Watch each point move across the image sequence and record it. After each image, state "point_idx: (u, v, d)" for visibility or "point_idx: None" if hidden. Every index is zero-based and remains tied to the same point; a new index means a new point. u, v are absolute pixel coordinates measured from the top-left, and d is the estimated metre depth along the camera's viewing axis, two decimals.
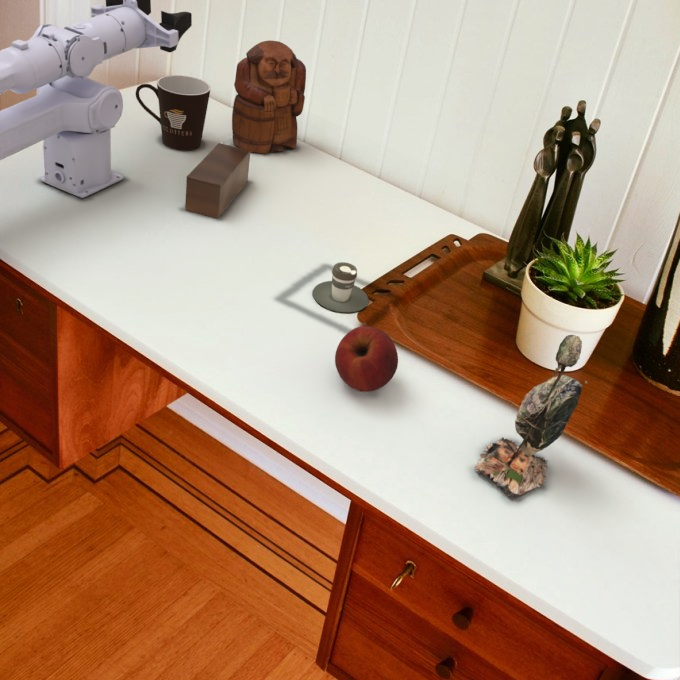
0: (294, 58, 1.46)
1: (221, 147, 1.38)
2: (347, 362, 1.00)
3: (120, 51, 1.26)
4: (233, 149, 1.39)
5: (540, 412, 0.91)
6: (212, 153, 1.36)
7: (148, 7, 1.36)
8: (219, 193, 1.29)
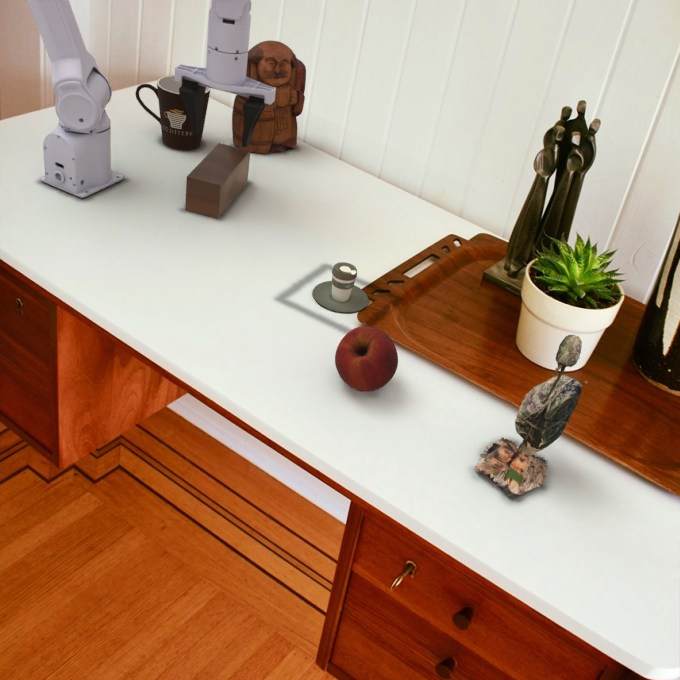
0: (294, 58, 1.46)
1: (221, 147, 1.38)
2: (347, 362, 1.00)
3: (216, 45, 1.21)
4: (233, 149, 1.39)
5: (540, 412, 0.91)
6: (212, 153, 1.36)
7: (199, 129, 1.31)
8: (219, 193, 1.29)
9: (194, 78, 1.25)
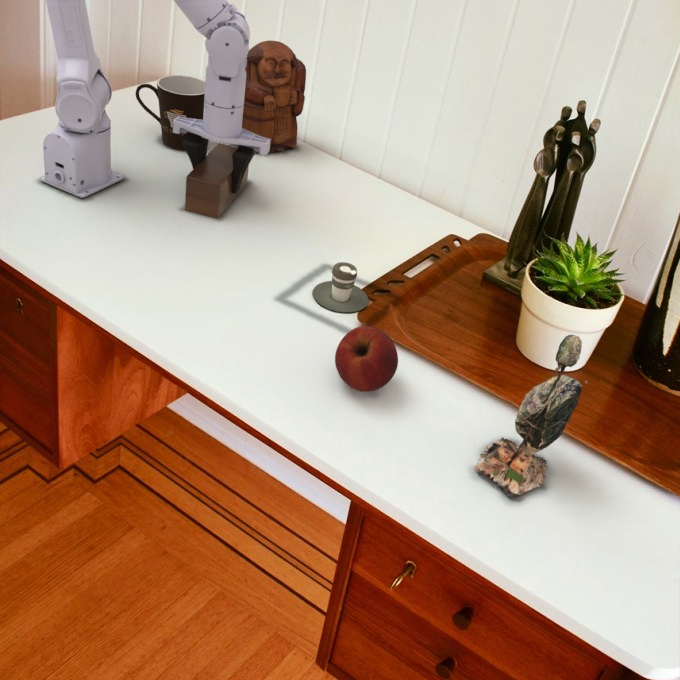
0: (294, 58, 1.46)
1: (221, 147, 1.38)
2: (347, 362, 1.00)
3: (212, 100, 1.25)
4: (233, 149, 1.39)
5: (540, 412, 0.91)
6: (212, 153, 1.36)
7: None
8: (219, 193, 1.29)
9: (192, 130, 1.30)
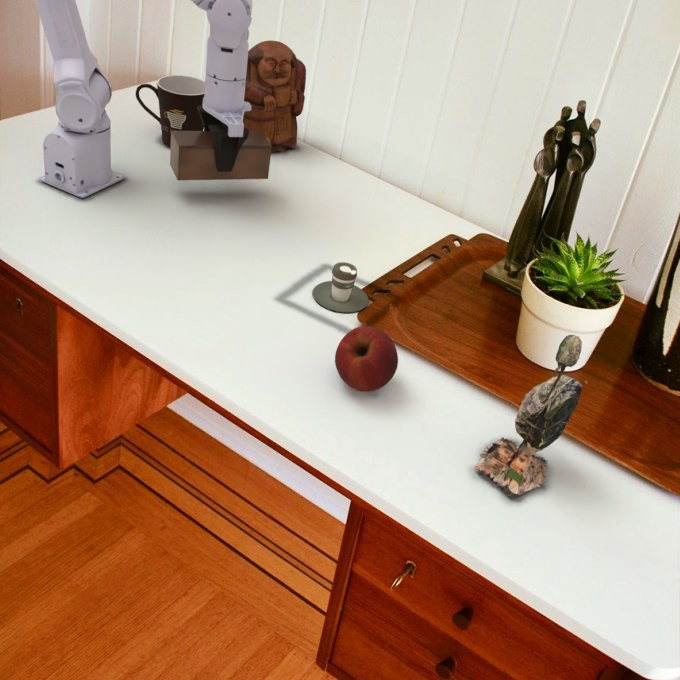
0: (294, 58, 1.46)
1: (254, 133, 1.35)
2: (347, 362, 1.00)
3: (214, 73, 1.23)
4: (259, 138, 1.34)
5: (540, 412, 0.91)
6: None
7: None
8: (179, 154, 1.28)
9: None
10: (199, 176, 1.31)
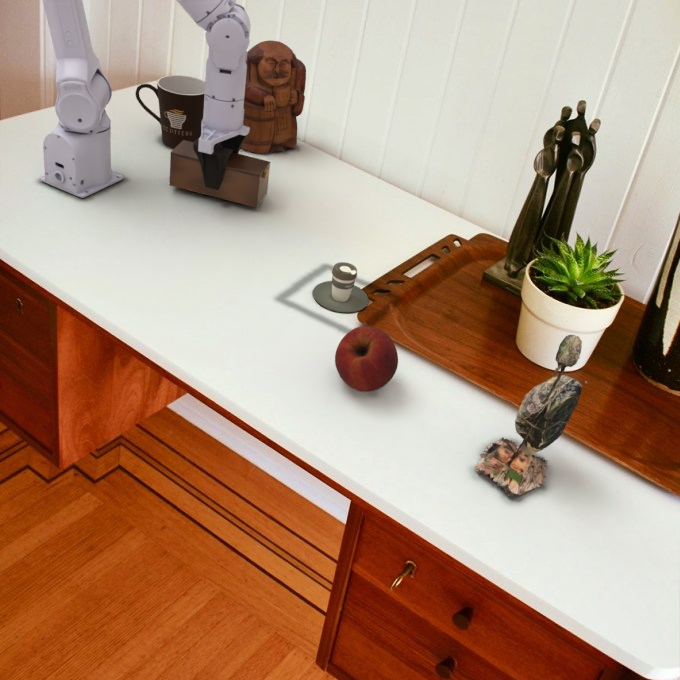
0: (294, 58, 1.46)
1: (259, 161, 1.34)
2: (347, 362, 1.00)
3: (213, 93, 1.25)
4: (257, 166, 1.33)
5: (540, 412, 0.91)
6: (241, 155, 1.35)
7: None
8: (171, 160, 1.32)
9: None
10: (189, 187, 1.34)
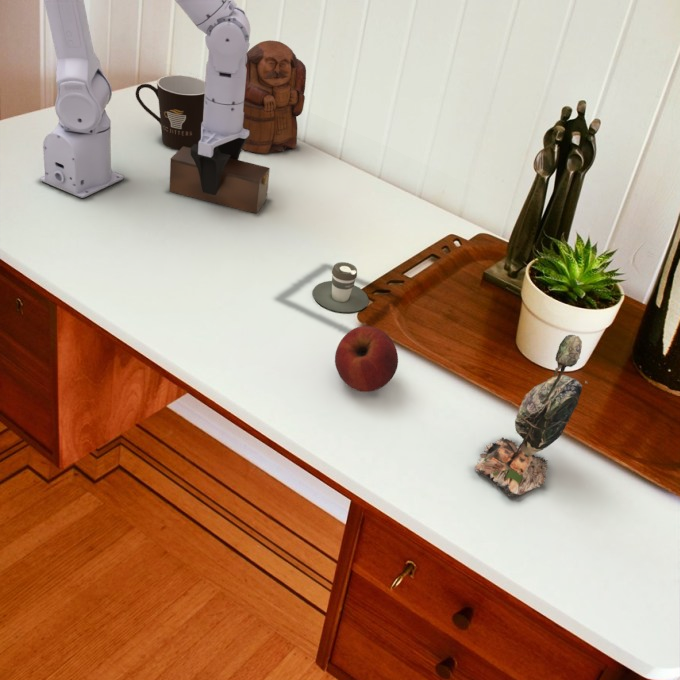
0: (294, 58, 1.46)
1: (259, 167, 1.35)
2: (347, 362, 1.00)
3: (212, 97, 1.25)
4: (257, 172, 1.33)
5: (540, 412, 0.91)
6: (241, 162, 1.35)
7: None
8: (171, 166, 1.33)
9: None
10: (189, 193, 1.35)
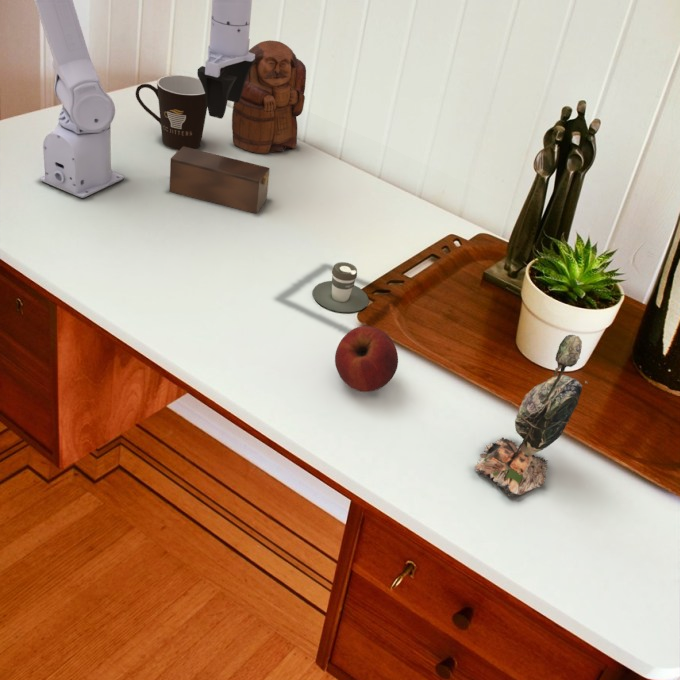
0: (294, 58, 1.46)
1: (259, 167, 1.35)
2: (347, 362, 1.00)
3: (227, 20, 1.27)
4: (257, 172, 1.33)
5: (540, 412, 0.91)
6: (241, 162, 1.35)
7: (231, 97, 1.41)
8: (171, 166, 1.33)
9: None
10: (189, 193, 1.35)
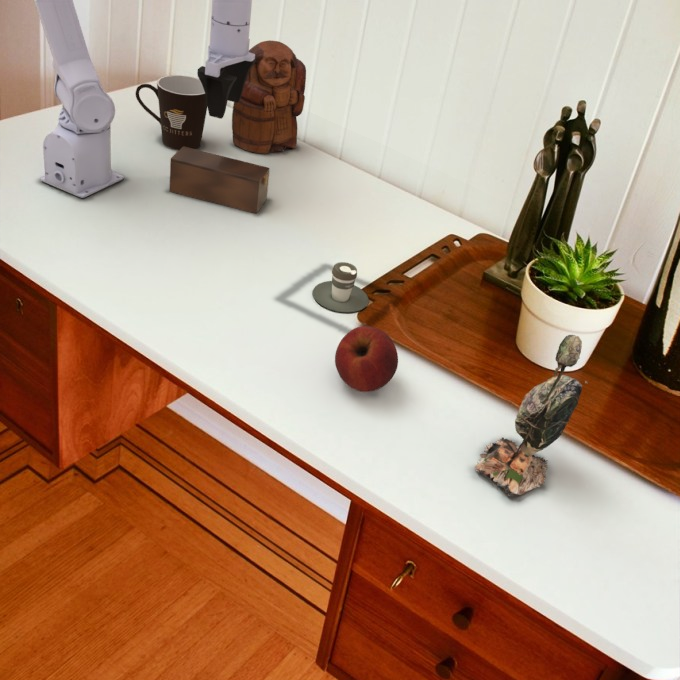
0: (294, 58, 1.46)
1: (259, 167, 1.35)
2: (347, 362, 1.00)
3: (227, 20, 1.27)
4: (257, 172, 1.33)
5: (540, 412, 0.91)
6: (241, 162, 1.35)
7: (231, 97, 1.41)
8: (171, 166, 1.33)
9: None
10: (189, 193, 1.35)
